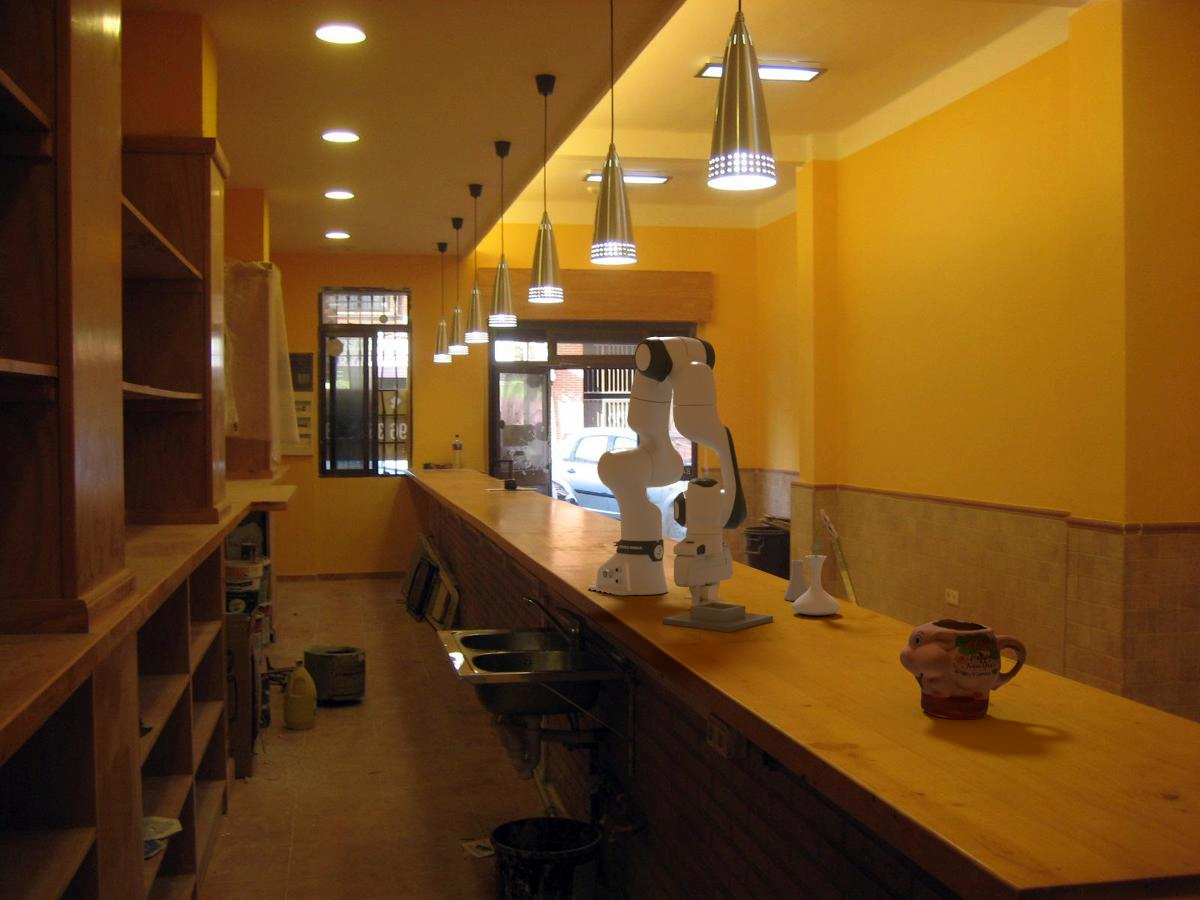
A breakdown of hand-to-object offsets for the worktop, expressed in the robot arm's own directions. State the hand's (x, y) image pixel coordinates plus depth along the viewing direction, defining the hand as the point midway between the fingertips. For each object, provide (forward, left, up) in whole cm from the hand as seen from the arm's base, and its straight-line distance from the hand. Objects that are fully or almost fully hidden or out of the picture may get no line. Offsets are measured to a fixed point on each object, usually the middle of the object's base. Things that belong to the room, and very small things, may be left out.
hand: (704, 601), depth 279 cm
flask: (+10, +27, -2) cm, 29 cm away
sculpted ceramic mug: (+89, -55, -2) cm, 105 cm away
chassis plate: (+13, -13, -2) cm, 18 cm away
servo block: (0, 0, -2) cm, 2 cm away
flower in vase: (+25, +11, -2) cm, 27 cm away
